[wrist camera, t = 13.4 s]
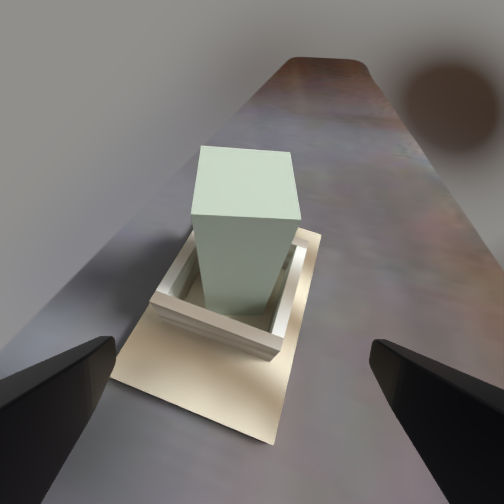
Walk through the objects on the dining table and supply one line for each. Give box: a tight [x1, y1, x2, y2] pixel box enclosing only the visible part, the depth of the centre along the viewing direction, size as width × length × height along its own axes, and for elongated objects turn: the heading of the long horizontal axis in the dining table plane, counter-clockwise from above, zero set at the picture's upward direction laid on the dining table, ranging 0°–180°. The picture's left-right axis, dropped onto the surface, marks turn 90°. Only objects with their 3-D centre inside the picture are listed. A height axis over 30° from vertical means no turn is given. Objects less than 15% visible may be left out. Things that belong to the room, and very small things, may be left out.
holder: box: [110, 227, 321, 445], centre depth 20 cm, size 18×12×5 cm, turn 161°
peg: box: [191, 146, 301, 315], centre depth 16 cm, size 4×4×12 cm
